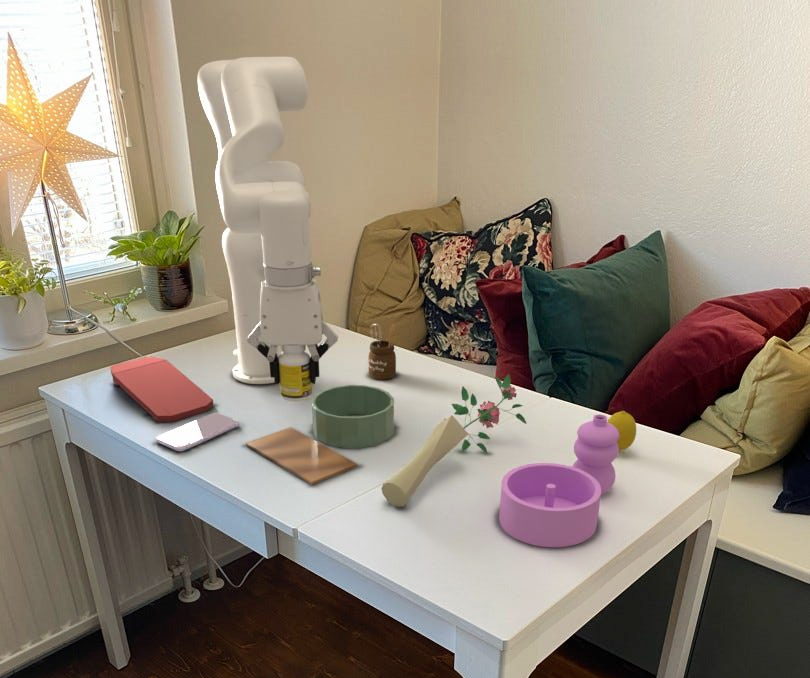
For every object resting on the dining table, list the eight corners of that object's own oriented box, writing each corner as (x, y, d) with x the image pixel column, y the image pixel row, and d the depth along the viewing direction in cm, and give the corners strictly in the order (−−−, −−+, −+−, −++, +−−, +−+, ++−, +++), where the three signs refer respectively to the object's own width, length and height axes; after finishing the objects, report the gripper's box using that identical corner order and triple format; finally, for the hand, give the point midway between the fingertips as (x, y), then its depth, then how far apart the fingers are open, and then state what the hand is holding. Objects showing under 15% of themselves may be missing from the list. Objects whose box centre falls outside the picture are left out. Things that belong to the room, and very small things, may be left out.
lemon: (613, 442, 163) (618, 402, 159) (638, 451, 160) (645, 411, 155) (595, 451, 160) (601, 411, 155) (621, 461, 156) (627, 420, 152)
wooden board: (246, 445, 161) (245, 442, 161) (290, 430, 167) (290, 427, 167) (311, 485, 149) (311, 482, 148) (357, 466, 154) (357, 463, 154)
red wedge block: (217, 423, 177) (156, 370, 191) (216, 402, 174) (155, 349, 188) (162, 440, 171) (104, 384, 184) (161, 418, 168) (101, 363, 181)
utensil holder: (379, 368, 194) (378, 314, 187) (402, 374, 190) (402, 320, 184) (362, 376, 190) (361, 322, 183) (386, 382, 186) (385, 328, 180)
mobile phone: (241, 420, 168) (179, 448, 158) (242, 425, 168) (180, 453, 158) (215, 410, 171) (152, 436, 162) (215, 415, 172) (153, 441, 162)
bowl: (297, 428, 167) (295, 399, 164) (359, 406, 176) (358, 378, 173) (347, 455, 158) (346, 425, 155) (410, 431, 167) (410, 402, 163)
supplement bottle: (307, 403, 149) (303, 348, 144) (276, 401, 150) (272, 345, 144) (316, 391, 153) (313, 337, 148) (286, 389, 154) (282, 335, 149)
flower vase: (385, 534, 150) (483, 421, 170) (442, 538, 142) (538, 419, 162) (358, 477, 144) (463, 368, 164) (416, 479, 136) (519, 363, 156)
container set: (563, 558, 130) (573, 480, 123) (480, 524, 138) (484, 448, 131) (642, 495, 146) (654, 422, 139) (563, 467, 154) (571, 397, 147)
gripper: (342, 267, 144) (346, 372, 153) (237, 268, 143) (247, 373, 153) (341, 280, 137) (345, 389, 147) (231, 281, 137) (242, 390, 147)
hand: (295, 379), depth 150 cm, fingers closed on supplement bottle, 5 cm apart
